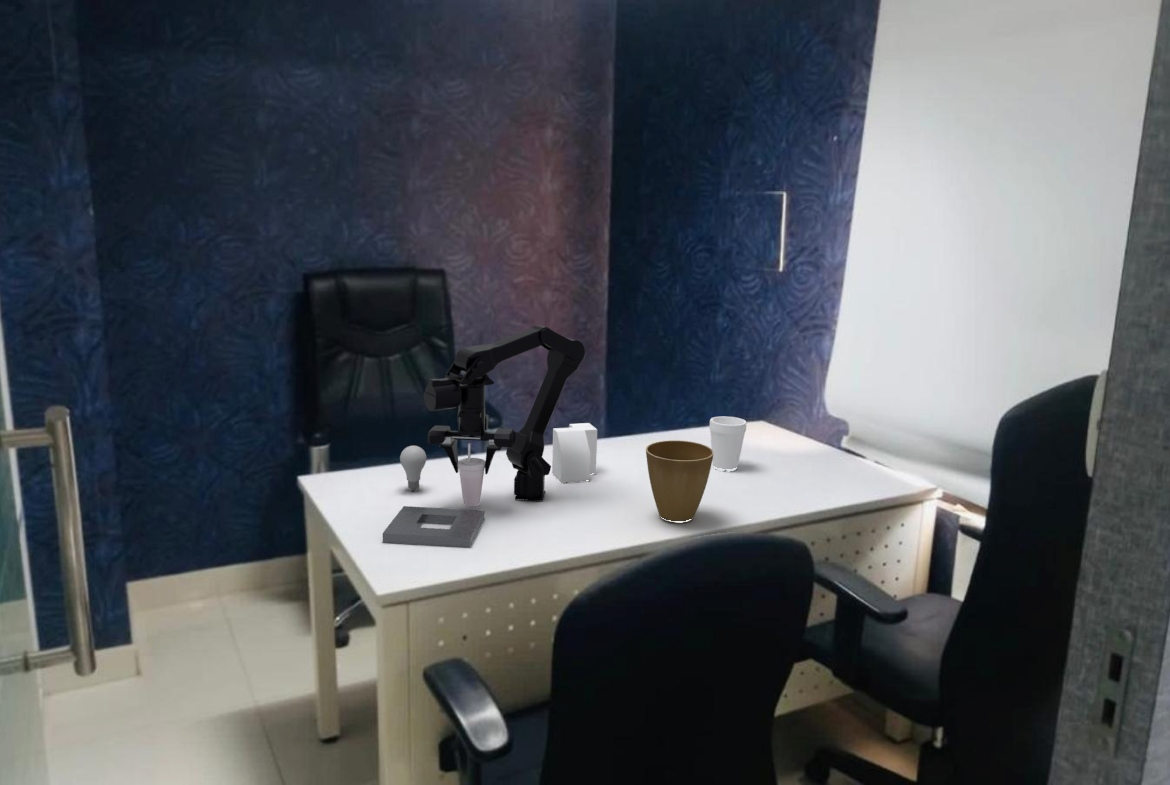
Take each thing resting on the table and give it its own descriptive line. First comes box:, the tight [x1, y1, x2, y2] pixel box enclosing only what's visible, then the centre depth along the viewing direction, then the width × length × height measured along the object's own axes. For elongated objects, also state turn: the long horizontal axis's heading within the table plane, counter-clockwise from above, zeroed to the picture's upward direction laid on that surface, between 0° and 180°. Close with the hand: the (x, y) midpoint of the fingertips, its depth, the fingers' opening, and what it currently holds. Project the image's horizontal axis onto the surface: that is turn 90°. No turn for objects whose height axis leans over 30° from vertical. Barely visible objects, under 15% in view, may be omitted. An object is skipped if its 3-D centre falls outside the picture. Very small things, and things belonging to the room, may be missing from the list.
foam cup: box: [709, 415, 747, 469], centre depth 237 cm, size 10×9×13 cm
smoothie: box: [457, 442, 486, 507], centre depth 201 cm, size 6×6×14 cm
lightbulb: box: [399, 445, 427, 491], centre depth 212 cm, size 6×6×11 cm
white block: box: [551, 422, 598, 484], centre depth 228 cm, size 11×11×12 cm
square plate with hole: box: [382, 505, 486, 548], centre depth 189 cm, size 18×16×2 cm
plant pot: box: [645, 439, 714, 521], centre depth 199 cm, size 15×15×16 cm
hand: (471, 473), depth 201 cm, fingers closed on smoothie, 6 cm apart
